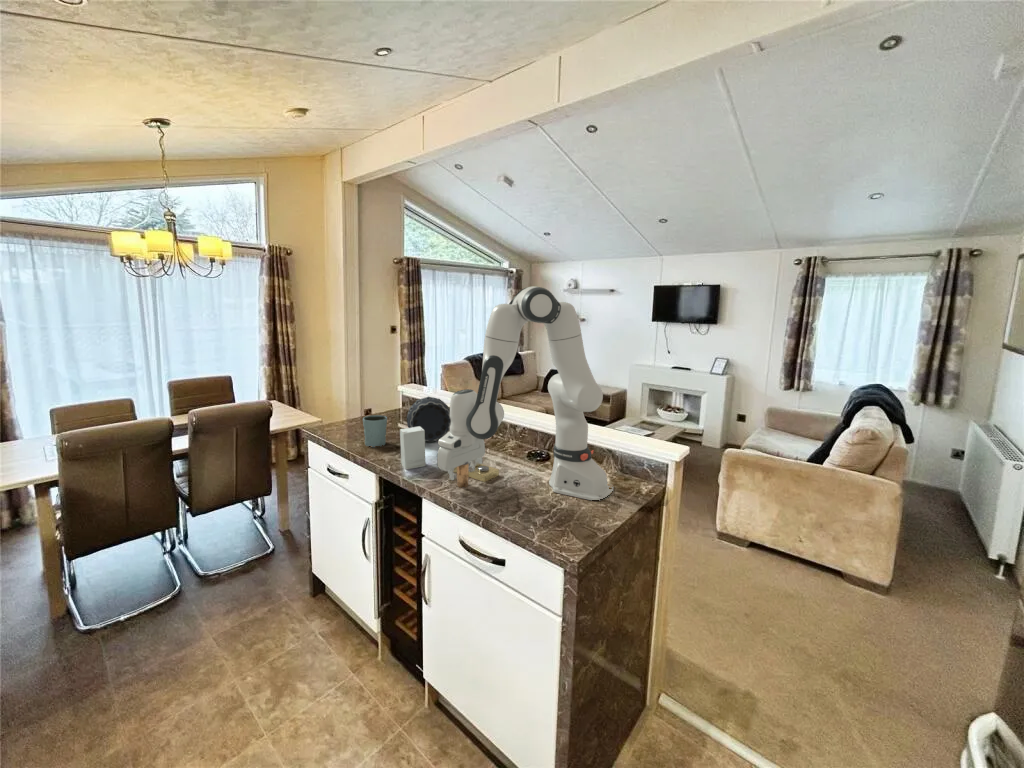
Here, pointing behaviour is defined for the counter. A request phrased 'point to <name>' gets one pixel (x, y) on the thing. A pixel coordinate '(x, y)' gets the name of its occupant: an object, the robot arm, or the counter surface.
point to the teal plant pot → (375, 430)
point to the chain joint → (481, 471)
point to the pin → (463, 475)
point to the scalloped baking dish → (430, 417)
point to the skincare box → (412, 447)
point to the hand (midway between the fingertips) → (462, 475)
